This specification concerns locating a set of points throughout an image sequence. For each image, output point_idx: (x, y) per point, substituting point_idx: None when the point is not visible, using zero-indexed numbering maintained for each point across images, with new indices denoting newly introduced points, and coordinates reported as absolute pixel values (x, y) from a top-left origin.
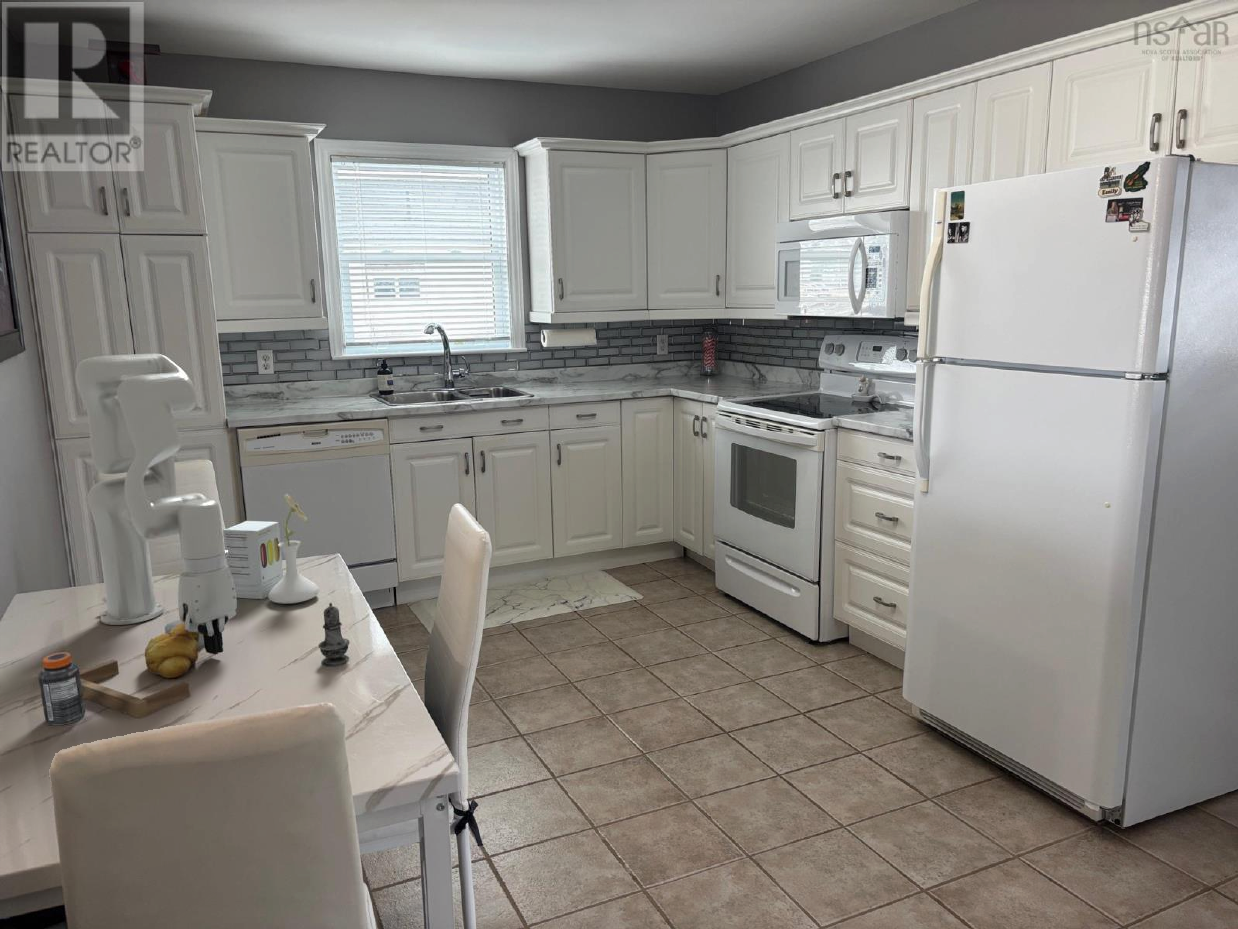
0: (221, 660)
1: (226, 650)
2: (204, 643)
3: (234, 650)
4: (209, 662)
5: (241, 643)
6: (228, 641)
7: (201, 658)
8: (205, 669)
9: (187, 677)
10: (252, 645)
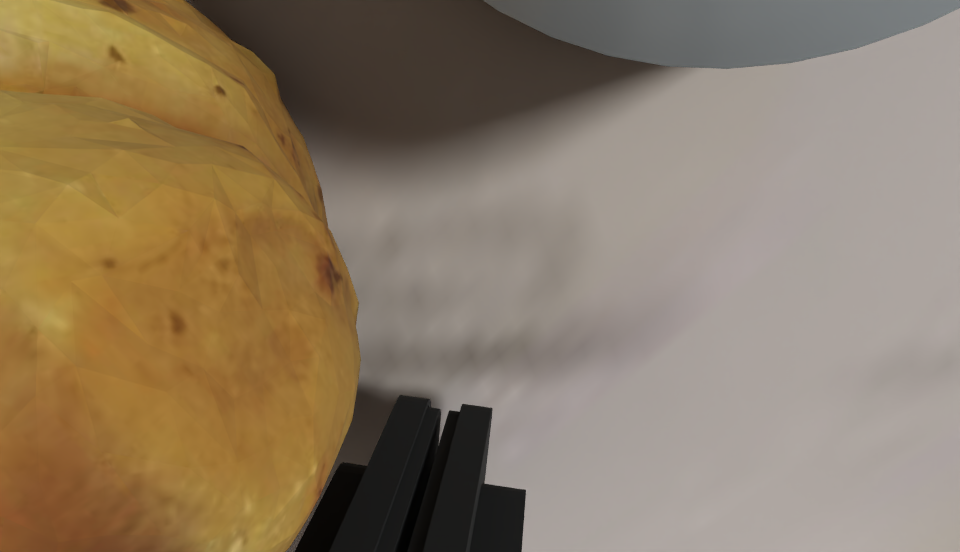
0: None
1: (653, 393)
2: (317, 513)
3: (677, 465)
4: (357, 449)
5: (879, 404)
6: (916, 217)
7: (390, 311)
8: None
9: None
10: (846, 537)
